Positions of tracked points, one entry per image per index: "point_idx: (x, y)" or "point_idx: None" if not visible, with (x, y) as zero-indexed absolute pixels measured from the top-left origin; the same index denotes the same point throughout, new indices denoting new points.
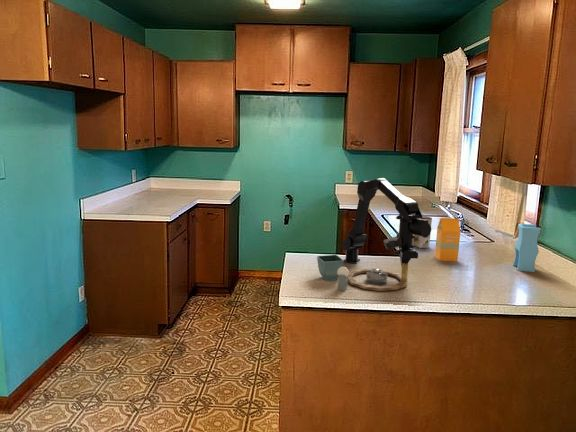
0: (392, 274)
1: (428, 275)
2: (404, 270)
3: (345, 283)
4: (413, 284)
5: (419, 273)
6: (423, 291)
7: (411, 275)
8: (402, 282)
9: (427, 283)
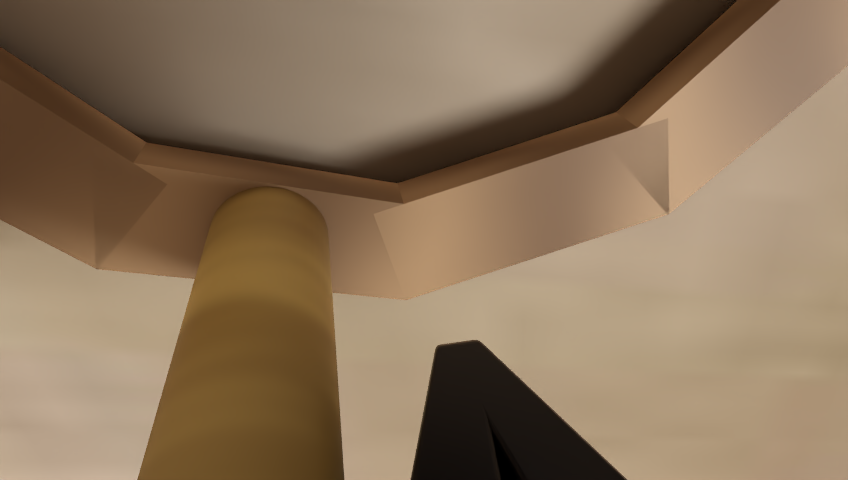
0: (686, 69)
1: (643, 471)
2: (159, 413)
3: None
4: None
5: (723, 406)
6: (13, 427)
7: (673, 331)
8: (157, 204)
9: (374, 464)
